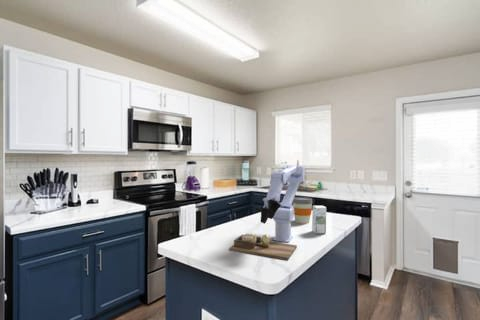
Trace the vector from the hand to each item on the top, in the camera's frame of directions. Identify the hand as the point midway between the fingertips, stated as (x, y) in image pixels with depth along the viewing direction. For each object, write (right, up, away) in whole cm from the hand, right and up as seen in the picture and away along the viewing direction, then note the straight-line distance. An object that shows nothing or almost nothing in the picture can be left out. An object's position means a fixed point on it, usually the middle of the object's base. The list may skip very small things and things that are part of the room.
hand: (266, 220), depth 112 cm
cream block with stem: (-4, -12, +5) cm, 14 cm away
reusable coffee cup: (+28, -13, +53) cm, 61 cm away
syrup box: (+32, -14, +29) cm, 45 cm away
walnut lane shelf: (-1, -13, +3) cm, 14 cm away
